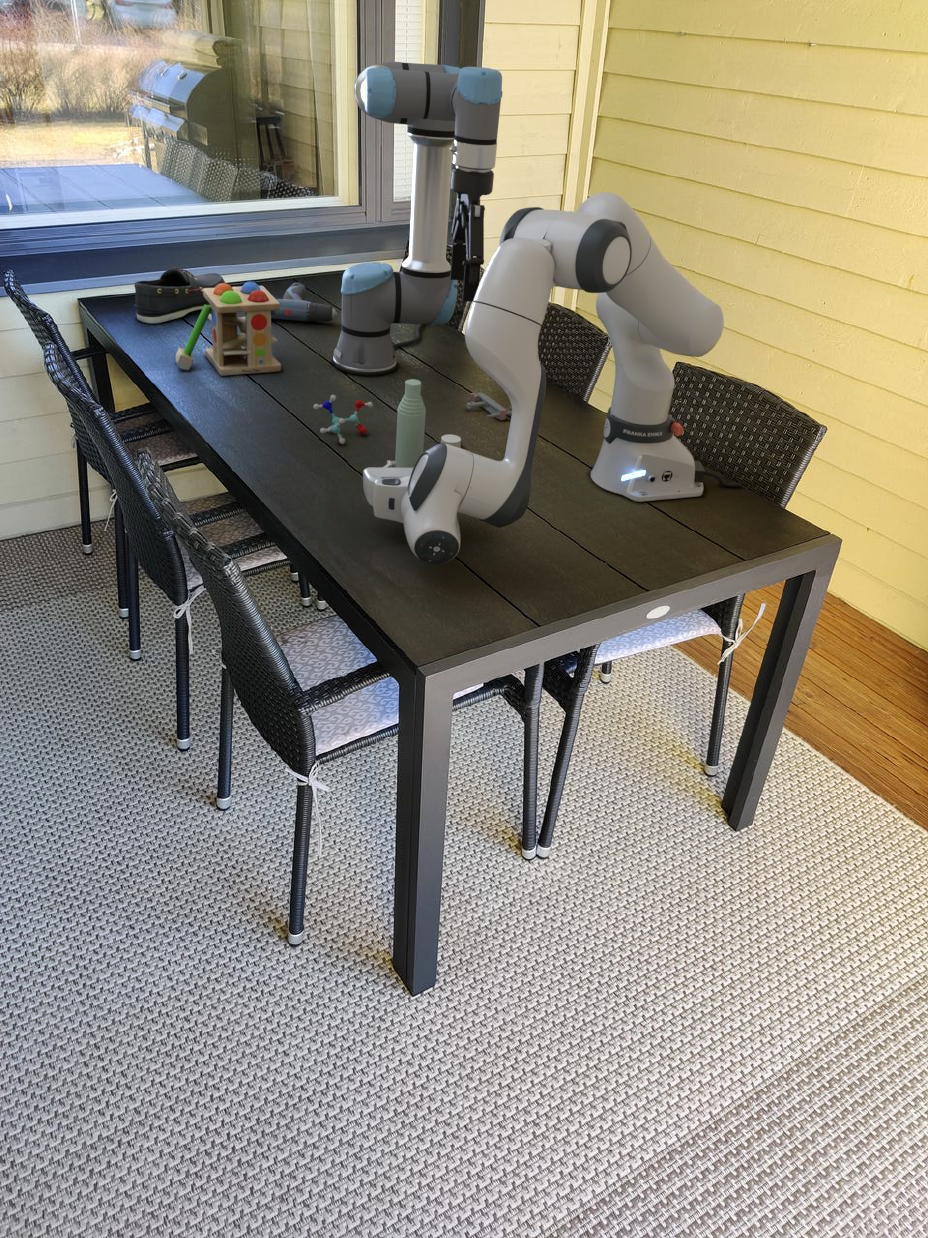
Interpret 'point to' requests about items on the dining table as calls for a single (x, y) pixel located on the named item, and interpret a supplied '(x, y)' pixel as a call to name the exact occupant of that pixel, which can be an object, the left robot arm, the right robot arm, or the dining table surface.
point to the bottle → (410, 426)
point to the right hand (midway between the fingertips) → (417, 464)
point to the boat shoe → (172, 295)
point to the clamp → (487, 405)
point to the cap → (451, 440)
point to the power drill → (301, 307)
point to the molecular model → (338, 421)
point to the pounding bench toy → (229, 347)
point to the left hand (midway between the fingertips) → (463, 289)
